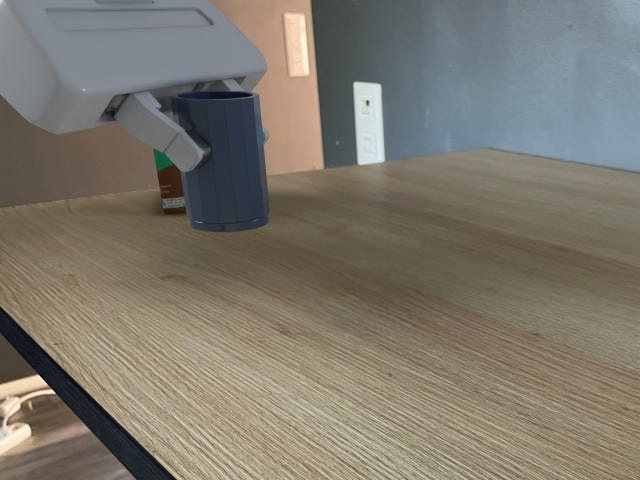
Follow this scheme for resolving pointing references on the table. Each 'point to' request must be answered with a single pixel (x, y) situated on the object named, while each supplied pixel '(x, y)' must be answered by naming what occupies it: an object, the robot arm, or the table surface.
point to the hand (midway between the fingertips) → (230, 154)
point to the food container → (169, 182)
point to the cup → (225, 161)
